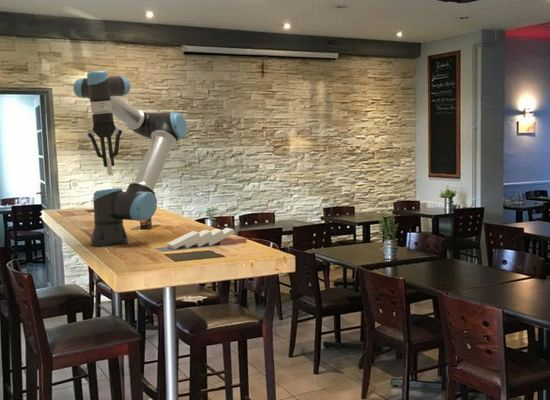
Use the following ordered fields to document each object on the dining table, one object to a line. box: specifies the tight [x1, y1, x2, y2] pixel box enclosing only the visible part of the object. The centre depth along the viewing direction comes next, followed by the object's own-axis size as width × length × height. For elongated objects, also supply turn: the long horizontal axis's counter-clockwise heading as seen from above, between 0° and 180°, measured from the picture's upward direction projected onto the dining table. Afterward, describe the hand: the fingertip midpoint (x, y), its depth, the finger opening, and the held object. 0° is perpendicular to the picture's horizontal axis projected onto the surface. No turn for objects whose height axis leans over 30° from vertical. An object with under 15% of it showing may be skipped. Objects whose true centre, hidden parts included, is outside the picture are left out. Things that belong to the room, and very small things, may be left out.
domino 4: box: [205, 227, 235, 246], centre depth 251 cm, size 2×6×12 cm
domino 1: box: [166, 230, 200, 250], centre depth 244 cm, size 2×6×12 cm
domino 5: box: [215, 236, 247, 246], centre depth 254 cm, size 2×6×12 cm
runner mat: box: [153, 243, 237, 253], centre depth 246 cm, size 10×32×1 cm, turn 121°
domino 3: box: [194, 228, 224, 247], centre depth 249 cm, size 2×6×12 cm
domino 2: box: [181, 229, 212, 248], centre depth 246 cm, size 2×6×12 cm
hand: (110, 175), depth 235 cm, fingers closed
